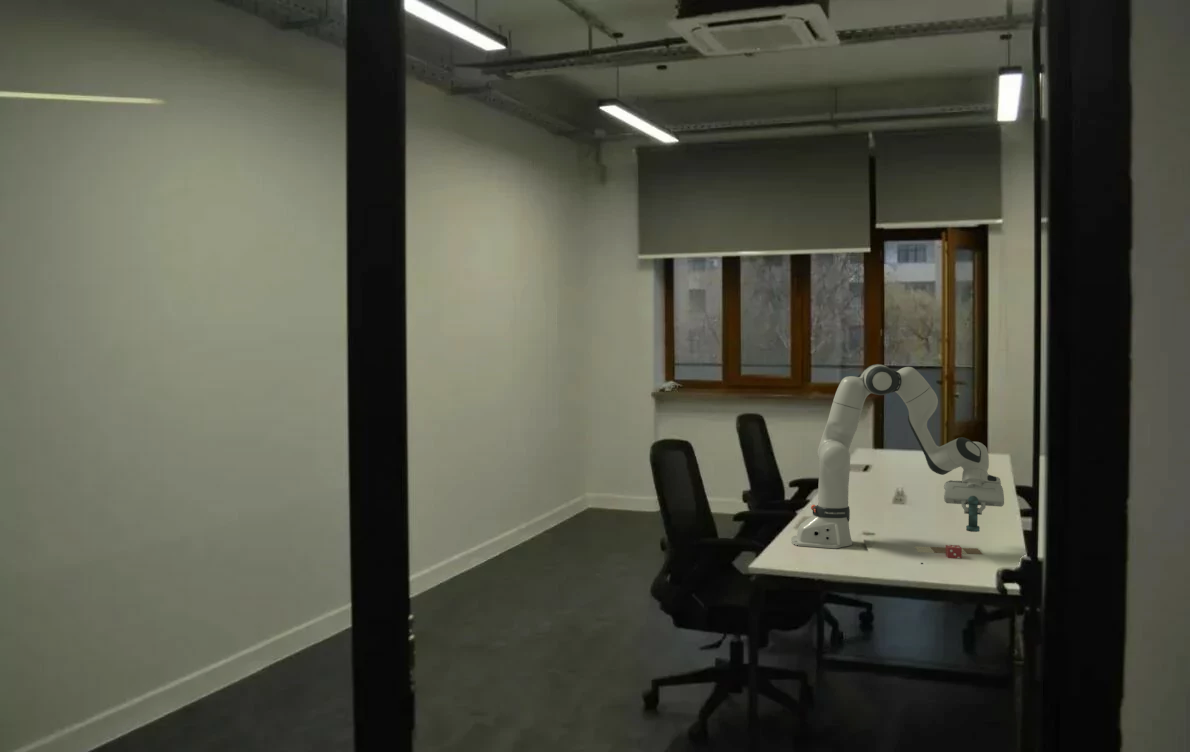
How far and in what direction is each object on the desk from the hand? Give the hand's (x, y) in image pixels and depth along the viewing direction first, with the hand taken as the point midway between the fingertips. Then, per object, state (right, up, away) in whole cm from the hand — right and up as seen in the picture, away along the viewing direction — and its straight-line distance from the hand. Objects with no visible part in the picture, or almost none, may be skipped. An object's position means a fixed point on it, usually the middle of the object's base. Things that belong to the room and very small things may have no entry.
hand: (972, 513), depth 342 cm
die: (-9, -15, -7) cm, 19 cm away
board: (-8, -15, +3) cm, 17 cm away
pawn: (0, -6, +1) cm, 6 cm away
